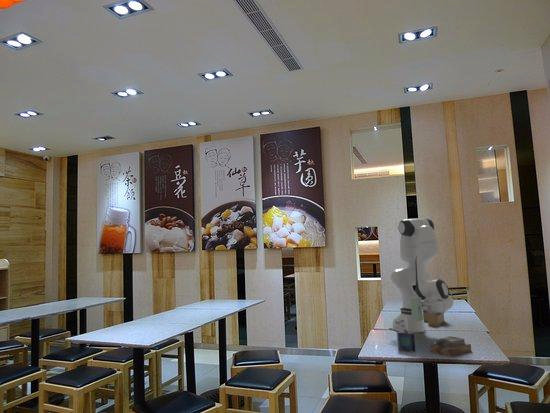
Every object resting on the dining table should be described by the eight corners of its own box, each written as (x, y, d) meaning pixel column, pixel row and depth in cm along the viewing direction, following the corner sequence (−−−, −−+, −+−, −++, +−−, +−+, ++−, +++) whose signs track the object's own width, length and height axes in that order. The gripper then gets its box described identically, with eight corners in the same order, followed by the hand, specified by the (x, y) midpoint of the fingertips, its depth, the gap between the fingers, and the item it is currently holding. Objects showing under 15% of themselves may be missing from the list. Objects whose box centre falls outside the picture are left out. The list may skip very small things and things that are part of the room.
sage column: (412, 320, 220) (410, 297, 221) (416, 319, 222) (415, 296, 223) (418, 321, 216) (416, 298, 218) (423, 320, 219) (421, 297, 220)
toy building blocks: (444, 321, 284) (441, 284, 286) (438, 326, 268) (435, 287, 271) (425, 319, 291) (423, 284, 293) (418, 324, 275) (416, 287, 278)
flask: (397, 349, 212) (395, 328, 213) (399, 348, 214) (398, 327, 215) (414, 352, 206) (412, 330, 207) (416, 351, 208) (415, 329, 209)
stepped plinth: (430, 352, 205) (430, 339, 206) (449, 346, 214) (448, 334, 215) (452, 356, 195) (451, 343, 196) (471, 351, 204) (470, 338, 205)
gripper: (415, 297, 236) (399, 300, 228) (447, 301, 219) (431, 303, 211) (416, 309, 235) (400, 311, 228) (448, 313, 218) (432, 316, 211)
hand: (415, 308), depth 219 cm, fingers closed on sage column, 4 cm apart
